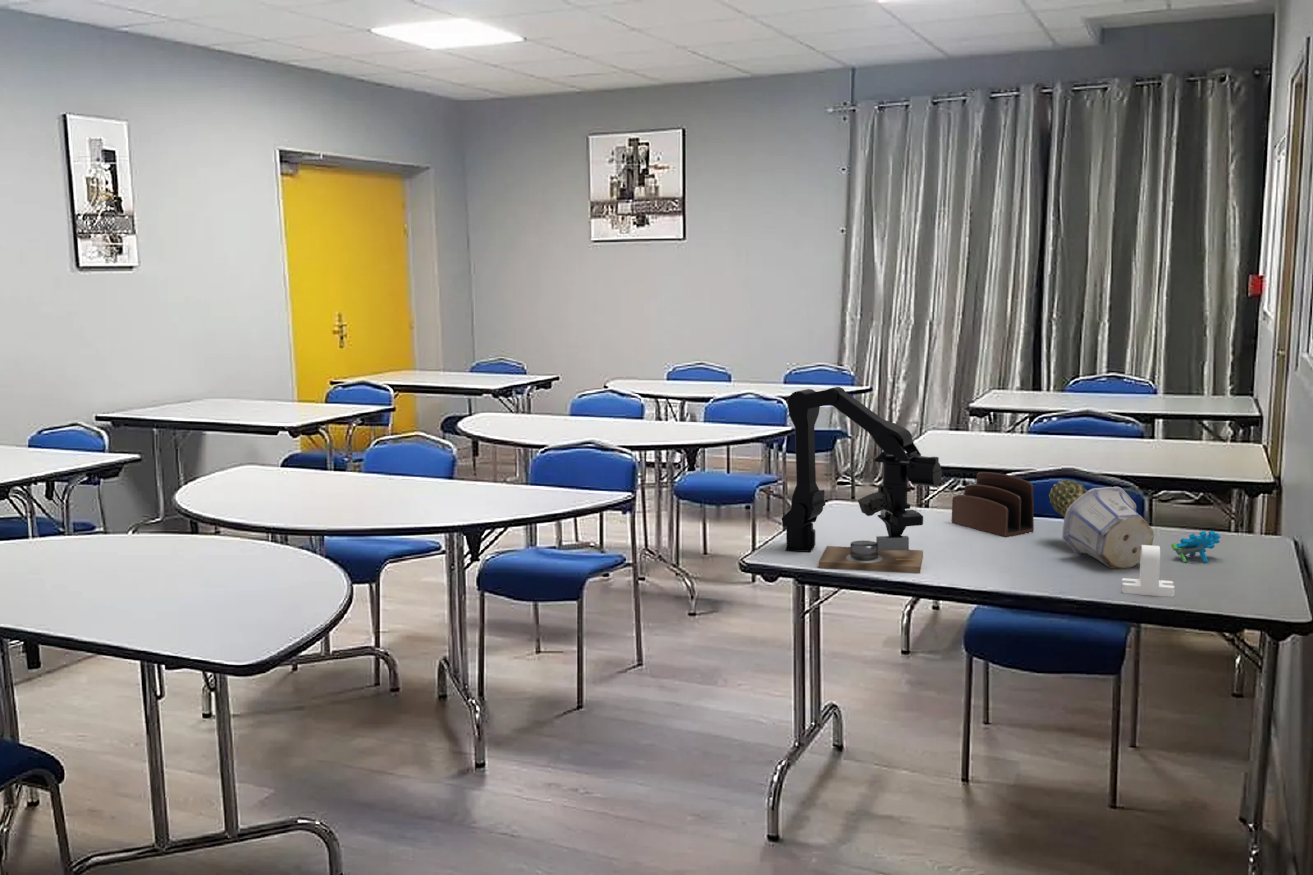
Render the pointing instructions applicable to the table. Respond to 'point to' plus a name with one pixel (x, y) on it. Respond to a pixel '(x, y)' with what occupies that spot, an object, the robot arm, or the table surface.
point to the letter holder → (996, 505)
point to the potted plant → (1101, 523)
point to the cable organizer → (1149, 576)
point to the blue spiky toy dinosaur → (1196, 545)
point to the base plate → (872, 560)
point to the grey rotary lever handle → (877, 546)
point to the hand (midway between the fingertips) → (893, 546)
